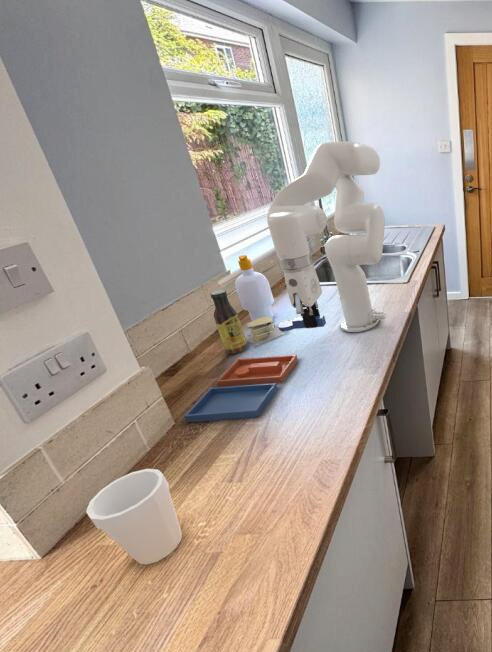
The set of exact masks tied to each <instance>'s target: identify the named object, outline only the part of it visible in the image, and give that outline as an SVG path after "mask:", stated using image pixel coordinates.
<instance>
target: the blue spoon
mask: <svg viewBox="0 0 492 652" xmlns="http://www.w3.org/2000/svg"><path fill="white" fill-rule="evenodd" d="M315 317H316V321H317V324H318V326H317V328H323V327H325V325H326V324H327V320H326V317H325V315H320V316H315ZM277 327H278V328H277V329H279V330H280V331H283V332H290V331H292V330H298V329H306V328H305V325H304V321H303V318H302V316H297V317H294V318H293V319H288V320H283V321H281V322H280V323H279V324H277Z"/></svg>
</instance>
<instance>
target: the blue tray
mask: <svg viewBox="0 0 492 652" xmlns="http://www.w3.org/2000/svg"><path fill="white" fill-rule="evenodd" d="M278 387H279V386H278V383H269V384H256V385H242V386H229V387H219V386H215V387H210V388H209V389H208V390H207V391H206V392H205V393H204V394H203V395H202V396H201V397H200V398H199V399H198V400H197V402H196V403H195V404H193V406H192V407H191V408H190V409H189V410H188V411H187V412H186V413H185V414H184V415H183V418H184V420H185V422H186V423H188V424H189V423H199V422H213V421H223V420H225V421H226V420H239V419H251V418H259V417H260V416H261V415H262V413H263V412H264V410H265V409H266V408H267V406H268V404H269V403H270V402H271V400H272V399H273V397H274V396H275V395H276V393H277V392H278V390H279V388H278Z"/></svg>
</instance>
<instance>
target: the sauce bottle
mask: <svg viewBox="0 0 492 652" xmlns="http://www.w3.org/2000/svg"><path fill="white" fill-rule="evenodd" d="M209 294H210V298H211V299H212V301H213V305H214V307H215V308H214V311H213V318H214V322H215V325H216V328H217V331H218V335H219V337H220V339H221V343H222V346H223V348H224V349H225V350H224V351H225V352H226V354H229V355H230V354H231V355H234V354H238V353H240V352H243V351H245V350H246V349H247V348H248V341H247V340H246V334H245V332H244V328H243V325H242V322H241V319H240V316H239V314H238V312H237V311H236V310H235V309H234V307H233V306H232V304H231V303H230V301H229V298H228V292H227V290H225V289H218V290H214V291H212V292H210V293H209Z"/></svg>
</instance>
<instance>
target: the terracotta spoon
mask: <svg viewBox="0 0 492 652" xmlns="http://www.w3.org/2000/svg"><path fill="white" fill-rule="evenodd" d="M281 369H282V366H281V363H280V362H266V363H252V364H251V365H247V366H243V367H240V368H238V369H237V370H236V371H235V374H236V376H237V377H239V378H242V377H246V376H249V375H254V374H268V373H279V372H280V371H281Z"/></svg>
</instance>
